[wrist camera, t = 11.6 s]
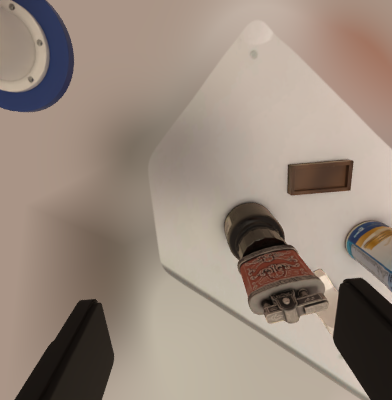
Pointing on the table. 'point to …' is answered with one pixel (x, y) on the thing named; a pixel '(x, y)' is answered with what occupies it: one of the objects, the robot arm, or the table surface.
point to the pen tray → (319, 177)
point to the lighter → (281, 284)
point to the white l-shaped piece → (332, 297)
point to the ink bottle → (252, 230)
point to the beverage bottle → (373, 249)
